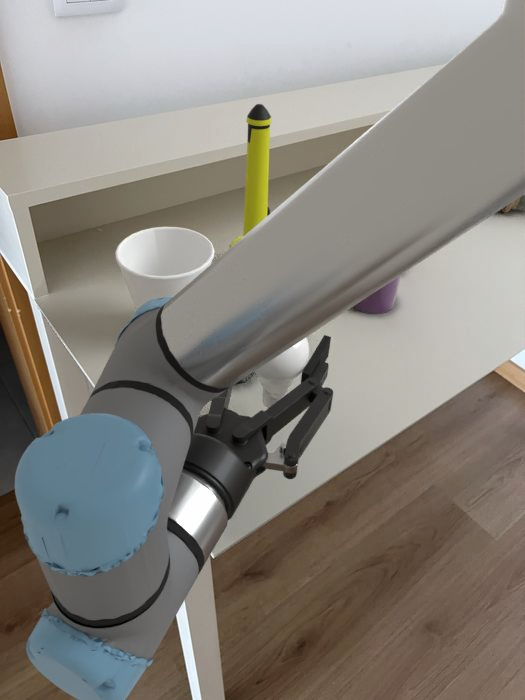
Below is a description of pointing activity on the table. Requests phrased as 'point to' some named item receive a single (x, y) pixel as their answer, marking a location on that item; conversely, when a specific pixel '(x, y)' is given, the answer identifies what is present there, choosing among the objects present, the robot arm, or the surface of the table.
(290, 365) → the lightbulb
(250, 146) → the flashlight
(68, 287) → the table surface
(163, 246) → the cup
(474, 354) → the table surface
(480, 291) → the table surface
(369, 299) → the jar
